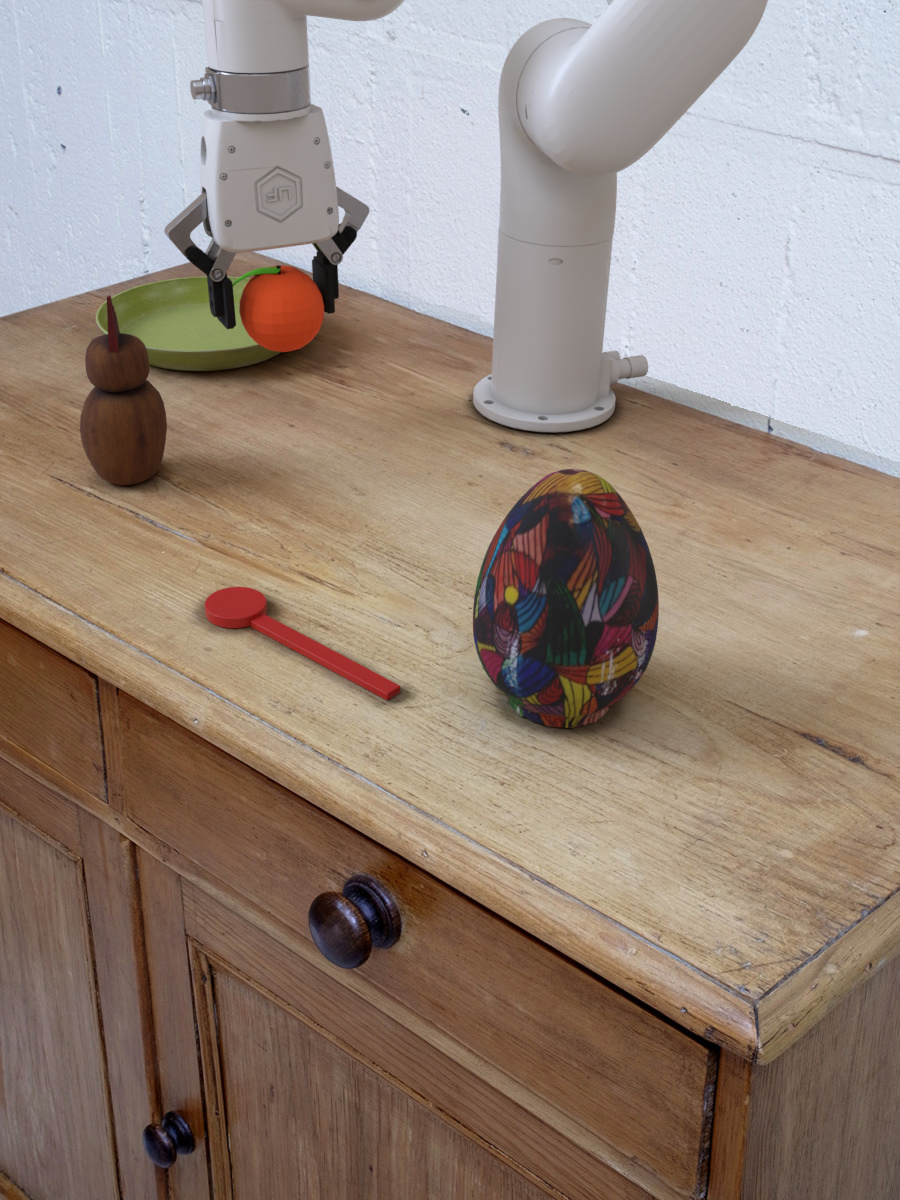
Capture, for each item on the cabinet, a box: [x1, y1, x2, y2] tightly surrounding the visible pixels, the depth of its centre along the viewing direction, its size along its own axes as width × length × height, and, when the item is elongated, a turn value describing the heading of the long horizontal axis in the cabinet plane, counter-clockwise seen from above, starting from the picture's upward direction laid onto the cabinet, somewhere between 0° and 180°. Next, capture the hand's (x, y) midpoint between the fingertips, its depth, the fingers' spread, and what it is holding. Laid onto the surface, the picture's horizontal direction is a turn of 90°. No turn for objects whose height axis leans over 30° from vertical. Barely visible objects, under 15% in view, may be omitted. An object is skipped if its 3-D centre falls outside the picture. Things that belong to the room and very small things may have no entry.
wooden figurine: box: [79, 295, 168, 486], centre depth 99 cm, size 7×6×15 cm
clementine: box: [233, 264, 325, 353], centre depth 107 cm, size 8×7×7 cm
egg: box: [472, 468, 660, 729], centre depth 75 cm, size 11×11×15 cm
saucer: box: [95, 275, 282, 372], centre depth 127 cm, size 21×21×3 cm
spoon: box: [204, 586, 401, 701], centre depth 83 cm, size 16×4×1 cm, turn 50°
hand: (276, 314), depth 108 cm, fingers closed on clementine, 8 cm apart
